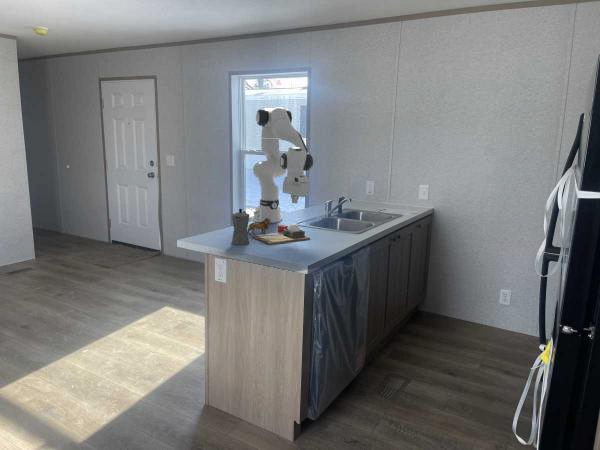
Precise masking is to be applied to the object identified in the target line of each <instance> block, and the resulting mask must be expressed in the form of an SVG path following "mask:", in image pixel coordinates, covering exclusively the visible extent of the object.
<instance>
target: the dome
mask: <svg viewBox="0 0 600 450" xmlns="http://www.w3.org/2000/svg"><path fill="white" fill-rule="evenodd" d="M300 230H301V227H300V225H298V224H297V223H291V224H290V225H288V231H290V232H298V231H300Z"/></svg>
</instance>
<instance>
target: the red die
mask: <svg viewBox="0 0 600 450" xmlns="http://www.w3.org/2000/svg"><path fill="white" fill-rule="evenodd" d="M288 227H289V225H285V224H280V225H278V226H277V233H279V232H283V230H284V229H288Z"/></svg>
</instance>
